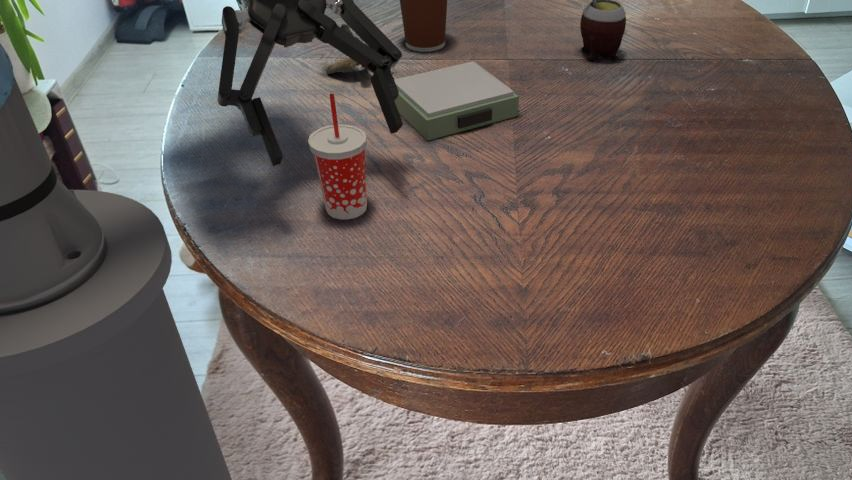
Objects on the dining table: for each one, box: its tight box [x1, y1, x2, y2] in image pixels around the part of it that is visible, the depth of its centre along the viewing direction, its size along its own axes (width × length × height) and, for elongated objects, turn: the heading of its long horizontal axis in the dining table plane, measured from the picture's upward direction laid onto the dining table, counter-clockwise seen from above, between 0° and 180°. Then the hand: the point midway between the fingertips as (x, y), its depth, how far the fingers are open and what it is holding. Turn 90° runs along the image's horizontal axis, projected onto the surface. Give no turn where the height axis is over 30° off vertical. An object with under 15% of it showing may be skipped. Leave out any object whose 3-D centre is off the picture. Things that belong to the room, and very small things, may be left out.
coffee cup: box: [399, 0, 448, 53], centre depth 116 cm, size 9×9×12 cm
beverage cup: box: [307, 93, 368, 220], centre depth 80 cm, size 6×6×14 cm
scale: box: [394, 60, 520, 141], centre depth 101 cm, size 14×12×4 cm
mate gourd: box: [579, 0, 627, 63], centre depth 113 cm, size 8×8×15 cm
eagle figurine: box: [326, 23, 369, 75], centre depth 109 cm, size 8×7×9 cm
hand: (339, 145), depth 79 cm, fingers open, 13 cm apart
